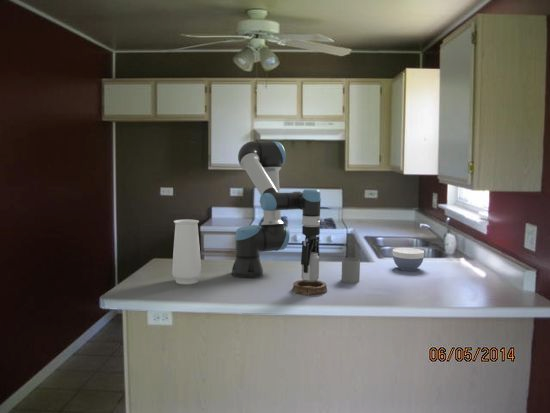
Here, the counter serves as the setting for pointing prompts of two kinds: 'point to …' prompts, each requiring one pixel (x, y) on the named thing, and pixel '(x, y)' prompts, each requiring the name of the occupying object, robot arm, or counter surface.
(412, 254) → the bowl
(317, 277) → the can
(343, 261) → the cup
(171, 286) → the counter surface
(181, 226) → the vase
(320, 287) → the tray
